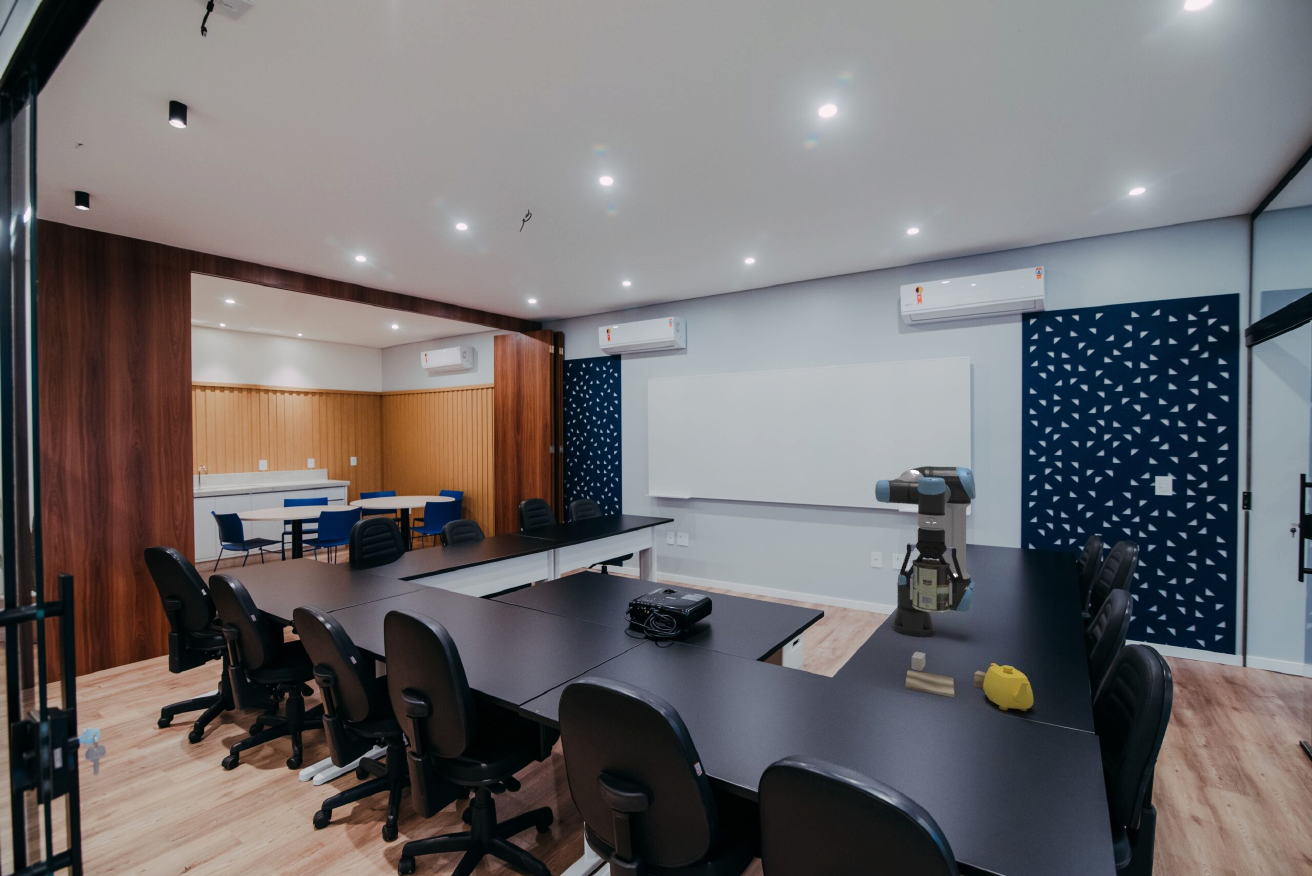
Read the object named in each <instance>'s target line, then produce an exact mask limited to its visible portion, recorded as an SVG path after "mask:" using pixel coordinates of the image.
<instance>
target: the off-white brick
mask: <svg viewBox="0 0 1312 876" xmlns="http://www.w3.org/2000/svg"><path fill="white" fill-rule="evenodd" d="M925 667H926V653H925V652H919V651H915V652H914V653H913V655H912V656H911V668H910V670H913V671H917V672H922V671H923V669H924V668H925Z"/></svg>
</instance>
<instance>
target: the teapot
mask: <svg viewBox="0 0 1312 876" xmlns="http://www.w3.org/2000/svg"><path fill="white" fill-rule="evenodd" d="M1002 666H1003V667H1002ZM1013 667H1014V666H1013ZM1013 667H1011V666H1010V665H1007V664H1006V665H1005V664H1004V665H1001V666H999V665H998V664H997V663H994V662H992V663H990V666H989V667H988V669H987V671H986V672H985V673H986V675H985V678H984V683H983V688H982V689H983V691H984V694H985V695H986V697H987V698H988V700H989V701H991V702H992V703H993V704H994V703H995V704H996V705H998V709H1000V711H1001V710H1002V711H1008V710H1009V709H1017V710H1019V711H1023V712H1027V711H1028V709H1030V708H1032V706H1033V705H1034V694H1033V693H1034V692H1033V690H1032V686H1031V683H1030V681H1029V678H1028V677H1027V676H1026V675H1025V674H1024V673H1023V672H1021V671H1020V670H1018V669H1016V668H1015V667H1014V668H1015V669H1014V668H1013Z"/></svg>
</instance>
